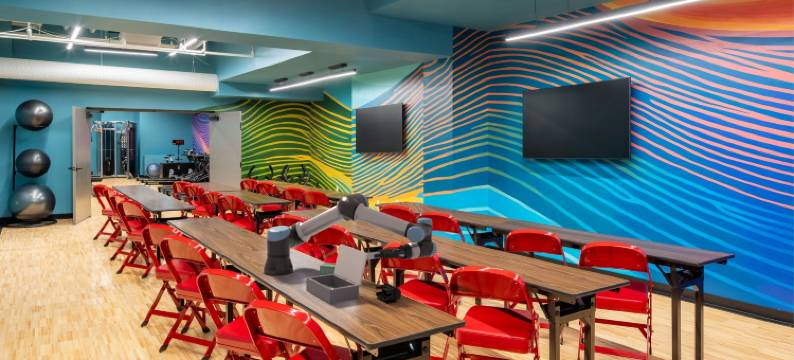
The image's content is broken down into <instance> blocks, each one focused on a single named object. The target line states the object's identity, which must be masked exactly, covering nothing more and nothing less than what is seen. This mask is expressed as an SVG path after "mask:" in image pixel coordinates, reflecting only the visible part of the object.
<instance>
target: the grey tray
mask: <svg viewBox="0 0 794 360" xmlns="http://www.w3.org/2000/svg"><path fill="white" fill-rule="evenodd" d="M305 279H306V280H305V283H306V285H305V286H306V287H305V290H306V292H308V293H311V294H312V295H314V296H315V297H317V298H318V299H320V300H322V301H324V302H326V303H328V305H331V304H338V303H339V304H340V303H344V302H349V301H356V300H360V285H358V284H356V283H354V282H352V281H349V280H346V279H344V278H342V277H340V276H338V275H335V274H329V275H321V276H320V275H317V276H316V275H315V276H309V277H307V276H306V278H305Z"/></svg>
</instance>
